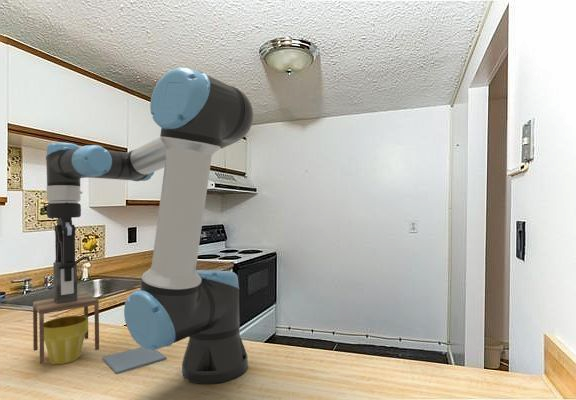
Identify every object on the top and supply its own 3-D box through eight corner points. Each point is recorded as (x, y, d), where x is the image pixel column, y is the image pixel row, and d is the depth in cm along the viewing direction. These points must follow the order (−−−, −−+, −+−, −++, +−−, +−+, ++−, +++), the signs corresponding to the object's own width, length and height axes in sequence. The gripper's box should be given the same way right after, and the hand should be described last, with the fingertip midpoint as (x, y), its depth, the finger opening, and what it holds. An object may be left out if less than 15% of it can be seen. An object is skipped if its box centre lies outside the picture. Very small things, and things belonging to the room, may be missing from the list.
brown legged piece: (99, 349, 93) (97, 261, 94) (40, 364, 85) (39, 267, 85) (87, 337, 102) (86, 257, 103) (33, 350, 94) (32, 263, 95)
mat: (166, 359, 92) (166, 357, 92) (116, 374, 84) (116, 371, 84) (149, 346, 101) (149, 344, 101) (102, 359, 93) (102, 357, 93)
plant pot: (72, 367, 88) (72, 327, 89) (31, 368, 88) (30, 327, 89) (96, 351, 99) (95, 314, 99) (58, 351, 99) (58, 315, 99)
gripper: (88, 201, 91) (89, 295, 90) (73, 204, 104) (74, 285, 103) (52, 201, 86) (54, 300, 85) (42, 204, 99) (43, 290, 98)
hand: (65, 292), depth 94 cm, fingers closed on brown legged piece, 4 cm apart
